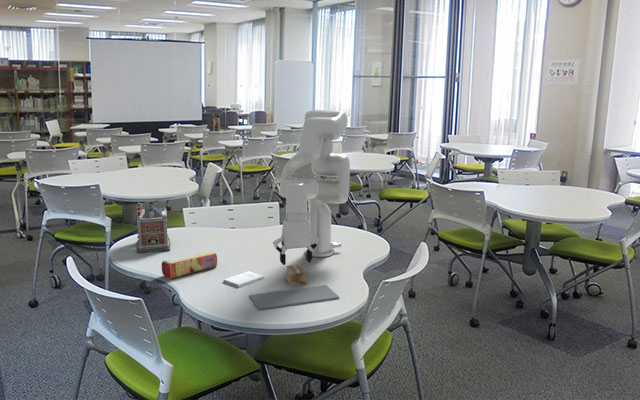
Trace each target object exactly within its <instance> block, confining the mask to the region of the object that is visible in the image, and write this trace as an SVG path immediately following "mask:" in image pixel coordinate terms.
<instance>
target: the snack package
mask: <svg viewBox="0 0 640 400" xmlns="http://www.w3.org/2000/svg"><path fill="white" fill-rule="evenodd" d="M217 266H218V256H217V254H216V253H215V251H211V250H207V251H203V252H198V253H194V254H189V255H184V256H181V257H176V258H171V259H165V260H163V261H162V262H161V271H162V272H161V273H162V275H163V276H164V277H165V278H166V277H167V278H166V279H168V278H169V280H172V279H175V278H179V277H182V276H183V277H184V276H187V275H190V274H193V273H197V272H200V271H205V270H209V269H213V268H217Z"/></svg>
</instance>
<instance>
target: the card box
mask: <svg viewBox="0 0 640 400" xmlns="http://www.w3.org/2000/svg"><path fill="white" fill-rule="evenodd" d="M286 278H287V281H288V283H289V286H290V287H291V286H304V285H305V286H306V285H308V273H307V270H306V268H305V267H304V265H301V264H298V265H286Z"/></svg>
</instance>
